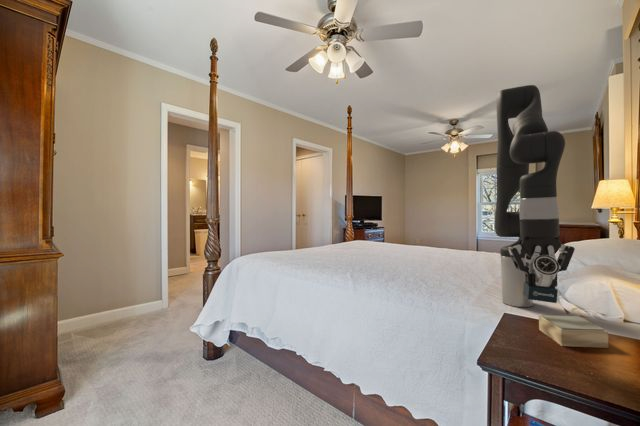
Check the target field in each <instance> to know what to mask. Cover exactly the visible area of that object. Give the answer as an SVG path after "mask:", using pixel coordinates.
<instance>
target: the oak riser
mask: <svg viewBox="0 0 640 426" xmlns="http://www.w3.org/2000/svg"><path fill="white" fill-rule="evenodd" d="M538 329H539V331H540V332H542V333H543V334H544V335H546V336H547V337H549V338H550V339H551V340H552V341H555V342H556V343H557V344H558V345H560V346H561V347H577V348H602V349H603V348H604V349H605V348H606V349H609V332H608V330H605V329H604V328H603V327H600V326H598V325H596V323H595V324H594V323H593V322H591V321H589V320H587V319H585V318H583V317H581V316H579V315H555V314H554V315H550V314H543V315H542V314H541V315H538Z"/></svg>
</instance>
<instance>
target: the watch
mask: <svg viewBox="0 0 640 426" xmlns="http://www.w3.org/2000/svg"><path fill="white" fill-rule="evenodd" d="M556 260H557V259H556ZM556 260H555V259H554V258H553V257H551V256H548V255H539V256H537V257H536V258H535V259H534V261H533V268H534V270H535V271H534V274H535V279H536V287H535V286H530V285H526V283H525V282H524V288H523V295H524V296H525V297H526V298H527V299H530V300H533V301H539V302H545V303H553V304H557V301H558V292H559V291H558V289H557V288H556V287H555V288H551V287H549V286H550V285H551V283H552V280H553V279H555V276H556V274H557V275H558V273H559V272H558V271H559V269H561V266H559V264H558V262H557V261H556ZM557 272H558V273H557Z"/></svg>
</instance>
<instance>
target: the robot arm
mask: <svg viewBox="0 0 640 426" xmlns="http://www.w3.org/2000/svg"><path fill="white" fill-rule="evenodd" d="M542 107H543V106H542V99H541V93H540V89H539V88H538V87H537V86H536V85H535V84H529V85H521V86H516V87H512V88H505V89H502V90H500V91H499V92H498V94H497V96H496V124H497V127H496V128H497V129H496V130H497V151H496V153H497V155H496V201H495V202H496V203H495V214H494V232H495V234H496V236H498V237H500V238H518V239H517V240H516V241H515V242H513V243H511V244H509V245H508V244H507V245H504V246H502V247H500V251H499V253H500V271H501V272H500V273H501V296H502V299H501V300H502V301H501V302H502V303H503V304H505V305H509V306H513V307H518V308H519V307H520V308H529V307H533V306H534V300H530V299H527V298H526V297H525V296H524V295H523V288H524V282H525V283H526V285H530V286H535V287H536V279H535V274H534V271H535V270H534V268H533V261H534V259H535V258H536V257H537V256H539V255H548V256H551V257H553V258H554V259H555V260H556V261H557V262H558V264H559V266H561V269H559V271H558V272H557V274H556V276H555V279H553V280H552V283H551V285H550V286H549V287H551V288H556V287H558V274H559V273H560V272H562V271H564V272H565V271H567V269H568V268H569V264H570V262H571V260H572V257H573V255H574V252H575V250H576V249H575V247H574V246H571V245H567V244H562V242H561V241H560V239H559V237H560V219H559V218H560V216H559V215H560V212H559V211H560V208H559V204H558V196H557V195H558V194H557V193H558V192H557V177H558V170H559V167H560V163H561V160H562V158H563V154H564V152H565V147H566V139H565V137H564V135H563V134H562V133H561V132H559V131H556V130H550V131H549V129H548V126H547V124H546V122H545V120H544V117H543V108H542ZM510 119H514V121H513V123H512V129H511V127H510V124H509V120H510ZM538 163H544V166H543V168H541V169H540V170H538V171H534V172H530V164H538ZM518 192H519V209H518V211H508V208H509V205H510V203H511V201H512V200H513V198H514V197H515V196H516V195H517V193H518ZM557 252H559V253H558V254H559V255H558V256H557V258H556V253H557Z"/></svg>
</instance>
